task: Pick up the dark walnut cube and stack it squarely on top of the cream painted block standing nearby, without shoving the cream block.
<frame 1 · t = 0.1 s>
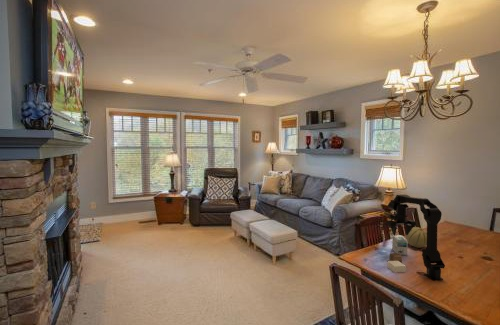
hand: (400, 235, 173), 15 cm above the table, fingers open, 9 cm apart
light bulb box: (399, 252, 180), on the table
cream block: (396, 269, 155), on the table
cantaloupe: (416, 247, 189), on the table
walnut cube: (395, 262, 165), on the table
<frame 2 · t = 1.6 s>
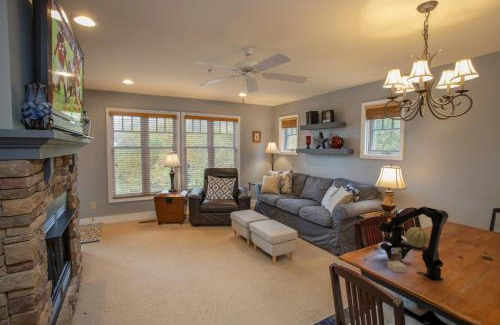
hand: (395, 259, 165), 2 cm above the table, fingers open, 9 cm apart
nothing on the table moved.
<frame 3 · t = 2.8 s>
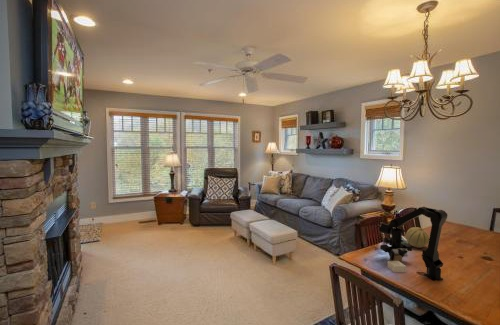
hand: (395, 260, 165), 1 cm above the table, fingers closed on walnut cube, 5 cm apart
walnut cube: (395, 262, 165), on the table, touching gripper
everything else where it was.
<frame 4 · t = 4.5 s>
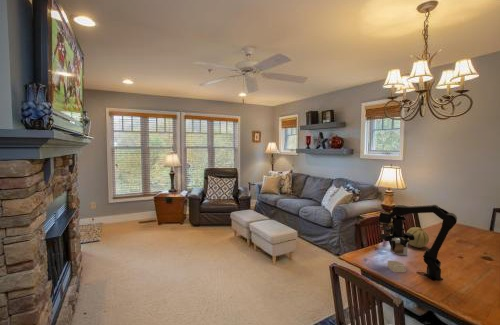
hand: (396, 250, 157), 11 cm above the table, fingers closed on walnut cube, 5 cm apart
walnut cube: (396, 251, 158), point 10 cm above the table, touching gripper
everything else where it was.
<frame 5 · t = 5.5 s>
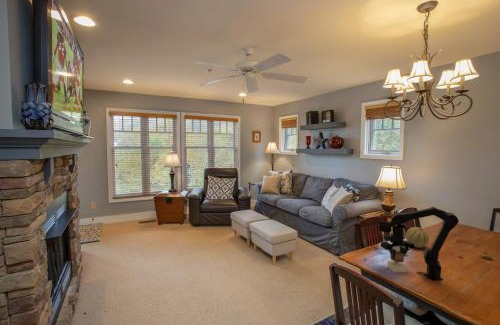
hand: (396, 258, 155), 7 cm above the table, fingers closed on walnut cube, 5 cm apart
walnut cube: (396, 260, 155), point 6 cm above the table, touching gripper
everything else where it was.
when the fingers open (6 cm above the table, at t = 6.4 s): walnut cube drops 1 cm, resting on cream block.
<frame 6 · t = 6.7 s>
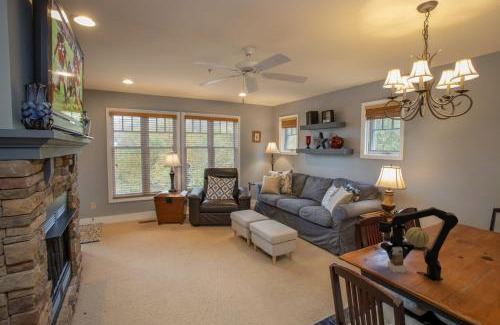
hand: (396, 259, 155), 6 cm above the table, fingers open, 8 cm apart
cream block: (396, 269, 155), on the table, touching walnut cube
walnut cube: (396, 263, 155), point 4 cm above the table, touching cream block
everything else where it was.
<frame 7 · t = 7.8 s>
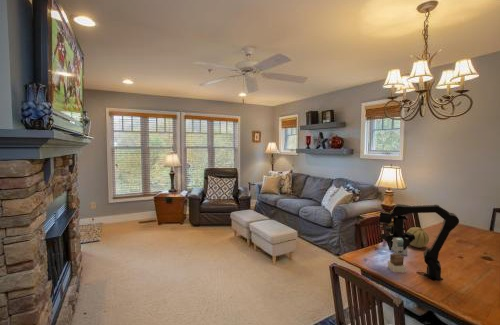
hand: (397, 250, 155), 12 cm above the table, fingers open, 9 cm apart
nothing on the table moved.
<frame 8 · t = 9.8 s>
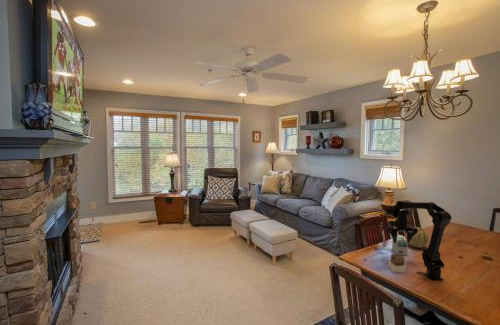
hand: (401, 242, 166), 12 cm above the table, fingers open, 9 cm apart
nothing on the table moved.
at the end: walnut cube 0.1 cm off-centre on the cream block, point 4.0 cm above the cream block's base; cream block moved 0.4 cm from its start; the gripper is holding nothing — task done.
